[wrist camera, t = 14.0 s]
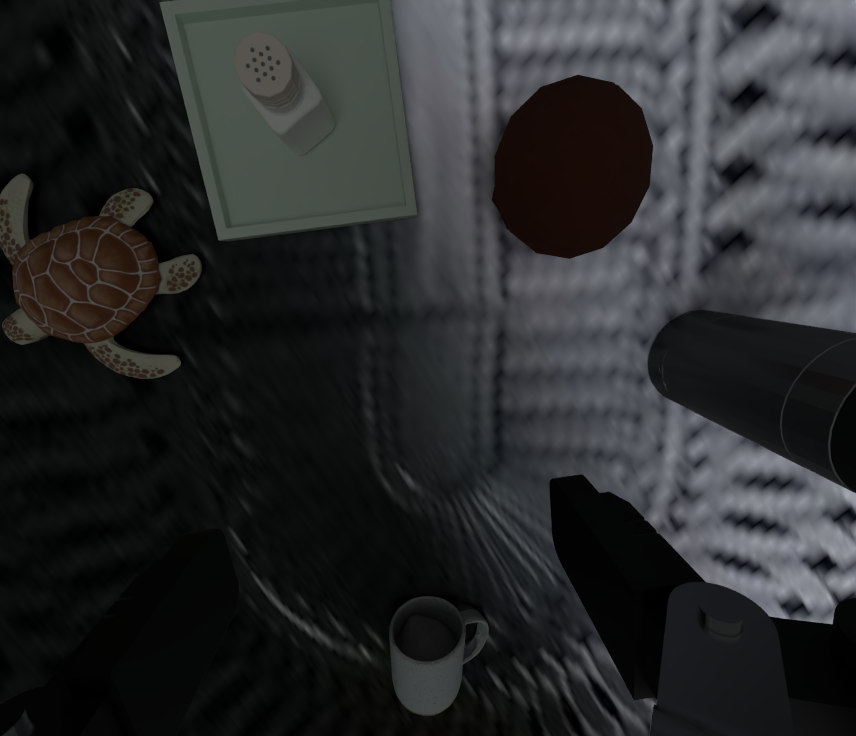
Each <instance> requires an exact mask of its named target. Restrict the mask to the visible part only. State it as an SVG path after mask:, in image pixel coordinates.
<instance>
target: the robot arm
mask: <svg viewBox="0 0 856 736" xmlns="http://www.w3.org/2000/svg"><path fill="white" fill-rule="evenodd" d="M649 373H650V377H651V380H652V383H653V384H654V386H655V387H656V389H657V390H658V391H659V392H660V393H661V394H662V395H663V396H664V397H666V398H668V399H670V400H672V401H674V402H676V403H678V404H680V405H682V406H684V407H686V408H687V409H689V410H691V411H693V412H695V413H697V414H699V415H701V416H703V417H705V418H707V419H709V420H711V421H713V422H715V423H717V424H719V425H721V426H723V427H725V428H727V429H729V430H731V431H733V432H735V433H737V434H739V435H741V436H743V437H745V438H747V439H749V440H751V441H753V442H755V443H756V444H758V445H760V446H762V447H764V448H766V449H768V450H770V451H772V452H774V453H776V454H778V455H780V456H782V457H784V458H786V459H788V460H790V461H792V462H794V463H796V464H798V465H800V466H802V467H804V468H807V469H809V470H811V471H813V472H815V473H817V474H819V475H820V476H822V477H824V478H826V479H828V480H830V481H832V482H834V483H836V484H838V485H840V486H842V487H844V488H846V489H848V490H850V491H852V492H855V493H856V333H852V332H845V331H839V330H832V329H826V328H819V327H812V326H806V325H799V324H793V323H786V322H779V321H773V320H766V319H760V318H753V317H747V316H741V315H734V314H728V313H721V312H714V311H705V310H701V311H693V312H690V313H687V314H684V315H682V316H680V317H678V318H676V319H675V320H673V321H672V322H671V323H669V324H668V325H667V326H666V327H665V328H664V329H663V330H662V332H661V333H660V334H659V335H658V337H657V339H656V340H655V342H654V344H653V347H652V350H651V353H650V357H649ZM550 504H551V521H552V536H553V542H554V546H555V550H556V553H557V556H558V558H559V560H560V562H561V564H562V566H563V568H564V570H565V572H566V574H567V576H568V577H569V579H570V581H571V583H572V585H573V587H574V589H575V590H576V592H577V594H578V596H579V598H580V600H581V602H582V604H583V605H584V607H585V609H586V611H587V613H588V615H589V617H590V618H591V620H592V622H593V624H594V626H595V628H596V630H597V632H598V633H599V635H600V637H601V639H602V641H603V643H604V645H605V647H606V648H607V650H608V652H609V654H610V656H611V658H612V660H613V661H614V663H615V665H616V667H617V669H618V671H619V673H620V675H621V676H622V678H623V680H624V682H625V684H626V686H627V688H628V689H629V691H630V693H631V695H632V697H633V699H634V700H639V699H645V698H651V697H655V698H656V699H657V703H656V705H654V707H653V712H652V719H651V727H650V735H649V736H856V598H852V599H847V600H845V601H842V602H840V603H839V604H838V605H837V607H836V609H835V612H834V619H833V624H824V623H816V622H807V621H798V620H790V619H781V618H775V617H770V616H768V614H767V613H766V612H765V611H764V610H763V609H762V608H761V607H760V606H758V605H757V604H756V603H755V602H753V601H752V600H750V599H749V598H747V597H746V596H744V595H742V594H740V593H738V592H736V591H734V590H732V589H729V588H727V587H724V586H721V585H717V584H712V583H706V582H705V581H704V580H703V579H702V578H701V577H700V576H699V575H698V574H697V572H696V571H695V570H694V569H693V568H692V567H691V566H690V565H689V564H688V563H687V562H686V561H685V560H684V559H683V558H682V557H681V556H680V555H679V554H678V553H677V552H676V551H675V550H674V549H673V547H672V546H671V545H670V544H669V543H668V542H667V541H666V540H665V539H664V538H663V537H662V536H661V535H660V534H657V532H656V530H655V529H654V528H653V527H652V526H651V525H650V523H649V522H648V521H645V520H644V517H643V516H642V515H641V514H640V513H639V512H638V511H637V510H636V509H635V508H634V507H633V506H632V505H631V504H630V503H629V502H627V501H625V500H623V499H622V498H620V497H618V496H616V495H614V494H612V493H611V492H605V493H599V492H598V491H597V490H596V489H595V488H594V486H593V485H592V484H591V483H590V482H589V481H588V480H587V478H586V477H585V476H584V475H582V474H580V475H573V476H567V477H560V478H553V479H551V480H550ZM238 599H239V583H238V579H237V576H236V572H235V569H234V565H233V562H232V559H231V555H230V552H229V549H228V545H227V542H226V539H225V536H224V533H223V532H222V530H220V529H218V528H215V529H209V530H202V531H195V532H189V533H184V534H183V535H181V536H180V537H179V539H178V540H177V541H176V542H175V543H174V545H173V546H172V547H171V548H170V550H169V551H168V552H167V553H166V555H165V556H164V557H163V558H162V559H159V560H158V561H156V562H155V563H154V564H153V565H151V566H150V567H149V568H147V569H146V570H145V571H144V572H142V573H141V574H140V575H138V576H137V577H136V578H135V579H134V580H133V582H132V583H131V584H130V585H129V586H128V587H127V589H126V590H125V591H124V592H123V593H122V594H121V596H120V597H119V601H117V602H115V603H114V604H113V605H112V606H111V607H110V609H109V610H108V611H107V612H106V613H105V615H104V619H100V620H99V622H98V623H97V624H96V625H95V626H94V628H93V629H92V630H91V631H90V632H89V633H88V635H87V636H86V637H85V638H84V639H83V641H82V642H81V643H80V644H79V645H78V646H77V648H76V649H75V650H74V651H73V652H72V654H71V655H70V656H69V657H68V658H67V659H66V661H65V662H64V663H63V664H62V665H61V667H60V668H59V669H58V670H57V671H56V672H55V674H54V675H53V676H52V677H51V678H50V679H49V681H48V682H47V683H46V684H45V685H44V686H40V687H36V688H33V689H30V690H27V691H24V692H22V693H20V694H18V695H16V696H14V697H12V698H10V699H8V700H6V701H4V702H3V703H1V704H0V736H176V734H177V732H178V730H179V728H180V726H181V724H182V721H183V719H184V717H185V715H186V713H187V711H188V709H189V707H190V705H191V703H192V701H193V698H194V696H195V694H196V692H197V690H198V688H199V686H200V684H201V682H202V680H203V678H204V675H205V673H206V671H207V669H208V667H209V665H210V663H211V661H212V659H213V657H214V655H215V652H216V650H217V648H218V646H219V644H220V642H221V640H222V638H223V636H224V634H225V632H226V629H227V627H228V625H229V623H230V621H231V619H232V617H233V615H234V613H235V610H236V608H237V604H238Z"/></svg>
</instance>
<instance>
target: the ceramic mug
mask: <svg viewBox="0 0 856 736" xmlns="http://www.w3.org/2000/svg"><path fill="white" fill-rule="evenodd" d="M474 622H478V623H477V629H476V633H475V636H474V637H473V639H472V640H471V641H470V642H469V643H468V644H466V645H465V625H466V624H468V623H474ZM487 636H488V623H487V621H486V620H485V619H484V617H483V616H482V615H481V613H480V612H478V611H477V610H474V609H467V610H462V611H458V609H457V608H456V607H455V606H454V605H453V604H452V603H450V602H449V601H447V600H445V599H442V598H439V597H435V596H420V597H416V598H413V599H410V600H408V601H407V602H405V603H404V604H402V605H401V606H400V607H399V608H398V609H397V611H396V612H395V614H394V616H393V618H392V620H391V623H390V628H389V637H390V652H391V664H392V679H393V684H394V688H395V691H396V694H397V696H398V698H399V700H400V701H401V703H402V704H403V705H404V706H405V707H406V708H407V709H408V710H409V711H411V712H413V713H415V714H419V715H423V716H431V715H436V714H438V713H441V712H443V711H444V710H445V709H446V708H448V707H449V706H450V705H451V703H452V702H453V701H454V699H455V697H456V695H457V693H458V690H459V687H460V683H461V678H462V664H464V663H466V662H467V661H469V660H471V659H472V658H473V657H474V656H476V655H477V654H478V653H479V651H480V650H481V649H482V647H483V646H484V644H485V642H486V639H487ZM464 645H465V646H464Z"/></svg>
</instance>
